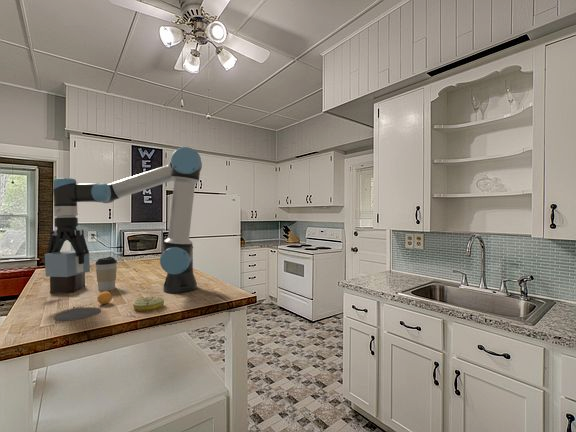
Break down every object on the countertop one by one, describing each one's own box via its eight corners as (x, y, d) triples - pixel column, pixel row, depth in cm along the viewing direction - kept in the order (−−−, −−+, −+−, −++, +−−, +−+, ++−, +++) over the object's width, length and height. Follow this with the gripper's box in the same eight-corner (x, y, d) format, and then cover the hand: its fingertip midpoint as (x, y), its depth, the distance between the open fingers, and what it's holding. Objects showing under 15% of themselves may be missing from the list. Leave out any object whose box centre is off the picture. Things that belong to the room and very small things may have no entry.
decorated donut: (150, 303, 123) (150, 294, 123) (169, 306, 118) (169, 296, 118) (127, 310, 114) (127, 300, 114) (147, 314, 109) (147, 304, 109)
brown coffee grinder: (62, 287, 149) (61, 251, 149) (86, 287, 150) (85, 251, 150) (39, 296, 133) (39, 256, 133) (66, 295, 135) (66, 255, 134)
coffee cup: (110, 291, 141) (109, 259, 141) (91, 291, 142) (90, 259, 141) (121, 286, 151) (120, 256, 150) (103, 286, 151) (102, 256, 151)
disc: (109, 308, 115) (109, 308, 115) (76, 322, 101) (76, 321, 101) (79, 306, 118) (79, 306, 118) (43, 319, 104) (43, 318, 104)
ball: (114, 302, 123) (114, 290, 123) (105, 306, 119) (104, 293, 118) (104, 301, 124) (104, 289, 124) (94, 305, 120) (94, 292, 120)
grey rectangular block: (89, 271, 125) (89, 250, 125) (67, 276, 115) (66, 254, 115) (69, 271, 128) (68, 250, 127) (45, 276, 118) (44, 254, 117)
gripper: (33, 217, 120) (36, 273, 120) (81, 216, 115) (84, 274, 115) (52, 217, 127) (54, 269, 127) (97, 216, 122) (100, 270, 123)
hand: (68, 271), depth 121 cm, fingers closed on grey rectangular block, 10 cm apart
